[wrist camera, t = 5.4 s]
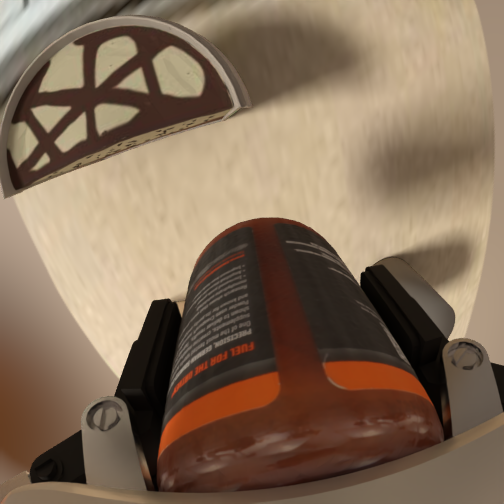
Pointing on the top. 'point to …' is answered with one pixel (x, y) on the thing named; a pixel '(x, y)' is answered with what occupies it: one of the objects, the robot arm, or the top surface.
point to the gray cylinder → (422, 294)
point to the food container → (112, 96)
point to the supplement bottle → (284, 370)
